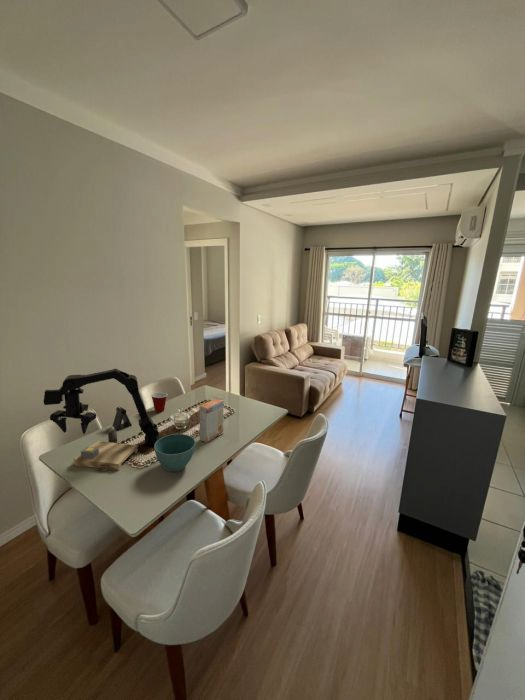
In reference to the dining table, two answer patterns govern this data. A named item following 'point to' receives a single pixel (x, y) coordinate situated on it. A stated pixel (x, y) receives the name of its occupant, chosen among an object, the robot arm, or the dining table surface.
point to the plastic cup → (159, 401)
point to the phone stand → (118, 419)
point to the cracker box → (211, 419)
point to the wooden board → (107, 456)
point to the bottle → (112, 435)
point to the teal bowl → (174, 451)
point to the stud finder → (89, 452)
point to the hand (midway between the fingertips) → (74, 432)
